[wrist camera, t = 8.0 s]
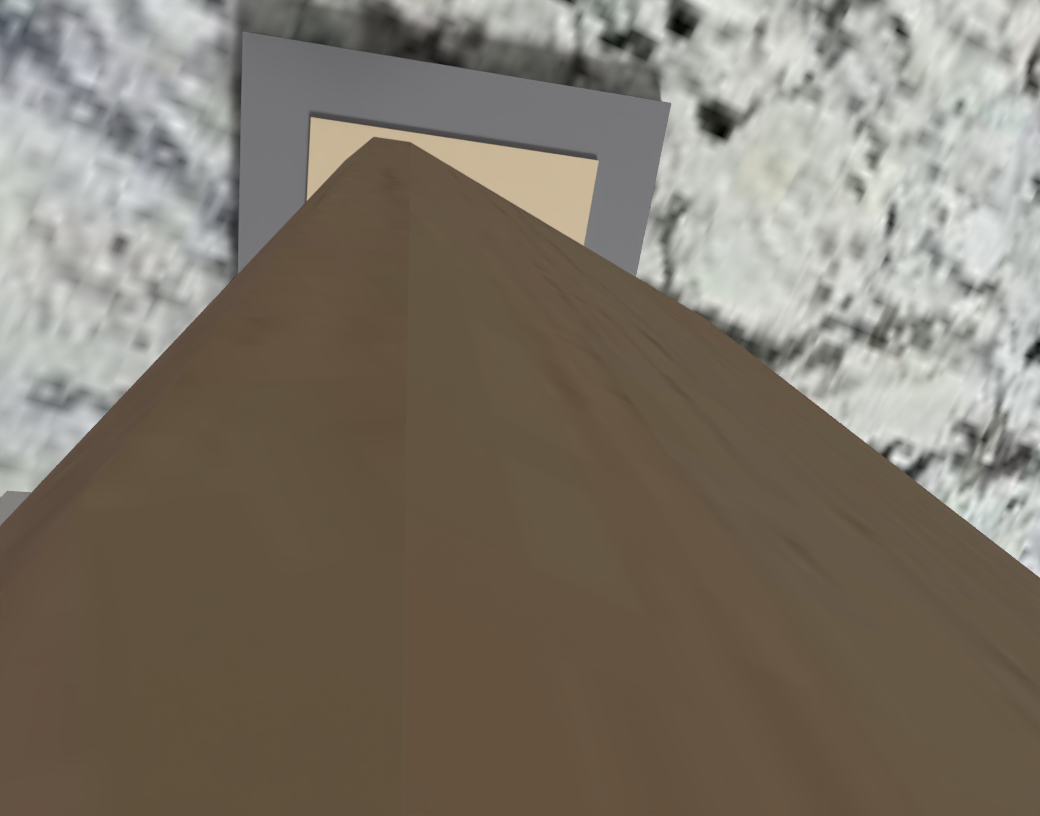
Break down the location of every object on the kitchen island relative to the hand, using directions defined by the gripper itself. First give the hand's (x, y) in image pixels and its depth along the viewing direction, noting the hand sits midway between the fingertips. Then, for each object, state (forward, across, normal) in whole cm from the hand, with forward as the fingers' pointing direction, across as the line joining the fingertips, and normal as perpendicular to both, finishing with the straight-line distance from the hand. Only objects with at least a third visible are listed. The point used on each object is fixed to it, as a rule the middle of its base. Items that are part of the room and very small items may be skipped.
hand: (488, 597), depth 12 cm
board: (+23, 0, 0) cm, 23 cm away
